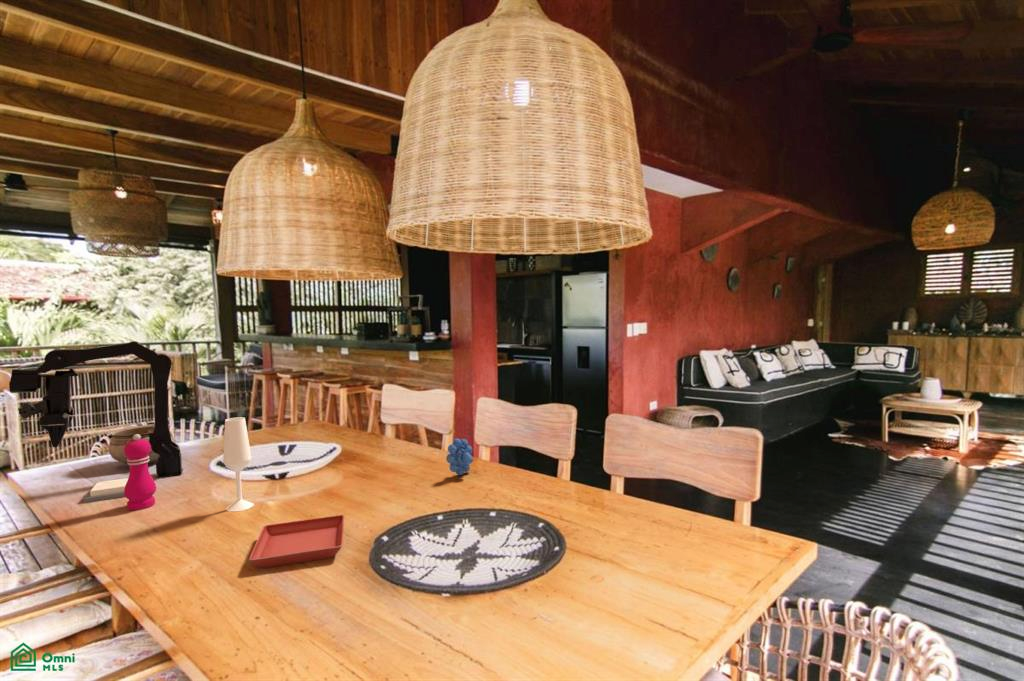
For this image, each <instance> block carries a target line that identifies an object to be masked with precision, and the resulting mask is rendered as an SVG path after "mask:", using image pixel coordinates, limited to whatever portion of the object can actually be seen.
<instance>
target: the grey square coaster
mask: <svg viewBox="0 0 1024 681" xmlns="http://www.w3.org/2000/svg"><path fill="white" fill-rule="evenodd" d="M128 478H129V477H127V478H119V479H114V480H113V479H111V480H106V481H105V480H104V481H98V482H97V483H96V484H95V485H94V486H93V487H92V488H91V489H90V490H89V491H88V492H87V493H86V494H85V496H84V497H82V502H83V504H86V503H93V502H100V501H106V500H113V499H120V498H126V497H125V496H124V489H125V485H126V483H127V481H128Z"/></svg>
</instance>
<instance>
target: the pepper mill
mask: <svg viewBox="0 0 1024 681" xmlns="http://www.w3.org/2000/svg"><path fill="white" fill-rule="evenodd" d="M140 438H141V436H140V435H139V434H135V435H134V436H133V439H134V440H133V441H130V442H129V443H127V444H126V446H125V448H124V454H125V455H126V456H127V457H128V459H127V461H128V463H127V464H126V465H128V467H129V476H128V477H127V478H128V481H127V483H126V485H125V489H124V496H125V497H124V498H126V499H127V500H128V501H127V502H126V507H127V510H129V511H139V510H140V511H141V510H144V509H148V508H150V507H153V506H154V505H155V504H156V498H155V496H154V495H155V493H156V491H157V486H156V485H157V484H156V482H155V480H154V478H153V477H152V475H151V472H150V471H149V465H148V462H149V461H150V460H149V456H148V454H149V452H150V451H151V445H150V443H149V442H148V441H146V440H143V439H140Z"/></svg>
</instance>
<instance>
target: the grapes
mask: <svg viewBox="0 0 1024 681" xmlns="http://www.w3.org/2000/svg"><path fill="white" fill-rule="evenodd" d="M447 452H448V454H447V455H446V457H445V459H446V462H447V463H448V464H449V470H450V472H452V473H456V475H457V476H462V475H464V473H468V472H469V471H470V469H471V466H470V464H472V463H473V462H474V457H473V455H471V454H472V453H473V447H472V446H471V445H469V442H468V440H467V439H466V438H461V439H459V438H457V437H456V438H454V439H453V441H452V443H451V444H449V445H448V446H447Z"/></svg>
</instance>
